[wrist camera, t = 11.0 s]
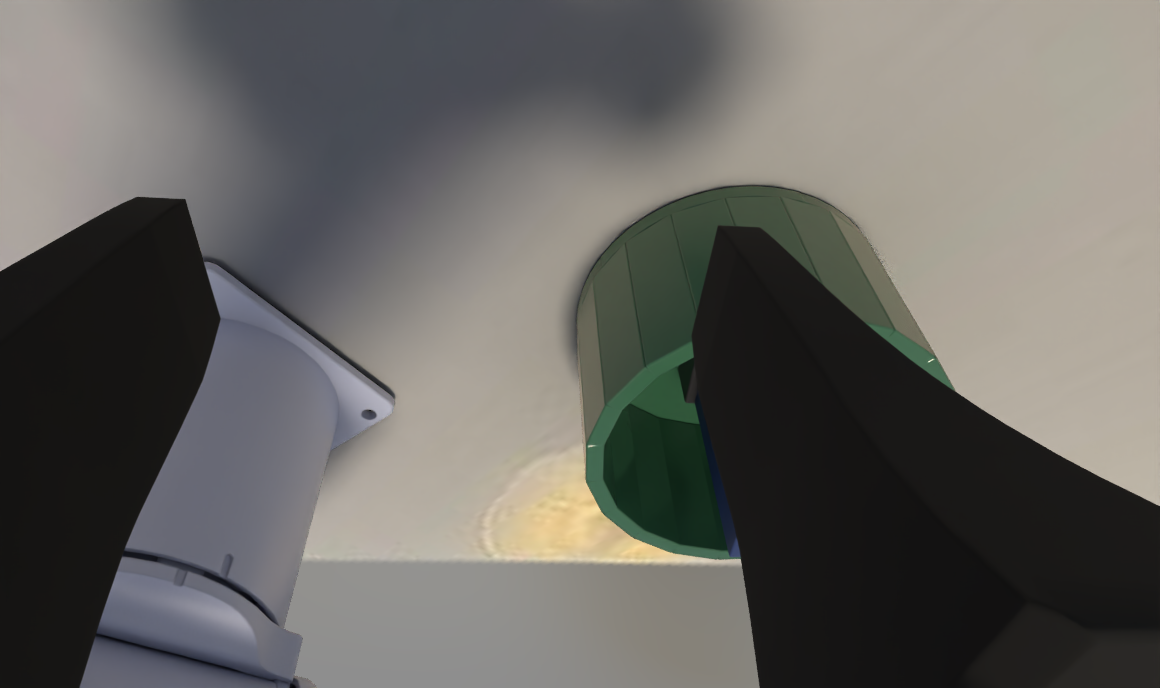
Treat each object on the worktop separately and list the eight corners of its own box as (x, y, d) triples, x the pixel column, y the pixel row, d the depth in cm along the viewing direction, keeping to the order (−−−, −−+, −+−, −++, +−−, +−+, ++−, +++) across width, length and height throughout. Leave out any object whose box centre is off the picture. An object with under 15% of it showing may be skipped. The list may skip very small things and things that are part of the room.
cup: (675, 455, 30) (700, 593, 25) (514, 298, 24) (510, 440, 20) (921, 336, 26) (1002, 473, 22) (798, 119, 21) (872, 243, 16)
